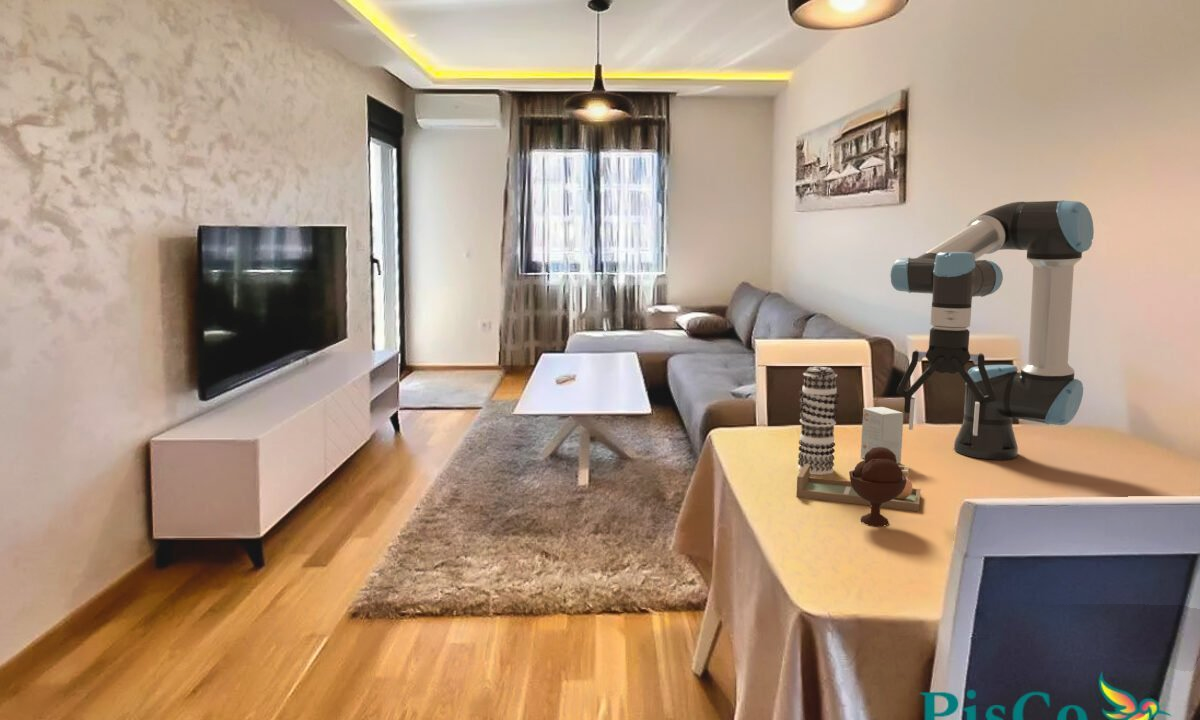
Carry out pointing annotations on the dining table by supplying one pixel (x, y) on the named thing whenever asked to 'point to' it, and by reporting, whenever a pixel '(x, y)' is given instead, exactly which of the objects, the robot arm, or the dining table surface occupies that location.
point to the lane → (845, 492)
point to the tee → (904, 470)
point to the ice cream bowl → (877, 482)
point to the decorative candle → (818, 420)
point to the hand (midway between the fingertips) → (942, 431)
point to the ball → (906, 490)
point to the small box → (882, 430)
